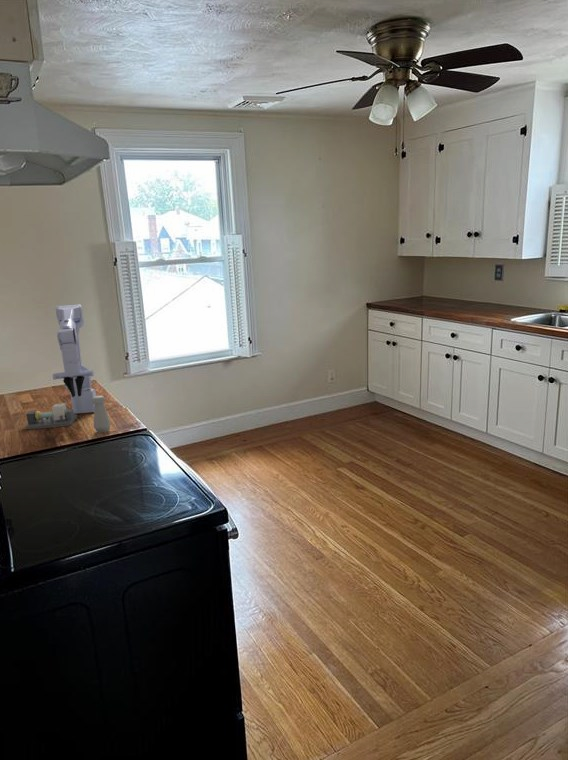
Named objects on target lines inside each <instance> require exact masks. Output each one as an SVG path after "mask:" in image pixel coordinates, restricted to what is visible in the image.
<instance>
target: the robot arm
mask: <svg viewBox="0 0 568 760" xmlns="http://www.w3.org/2000/svg"><path fill="white" fill-rule="evenodd" d="M55 314H56V320H57V323H58V324H59V325H58V326H59V331H58V330H57V333H56V335H57V336H56V337H57V342H58V346H59V349H60V351H61V357H62V363H63V370H64V372H55V373H53V374H52V380H62V379H63V380H62V381H63V383H64V387H65V389H66V391H68V392H69V394H70V399H71V405H72V409H73V411H74V415H78V414H86V413H94V407H95V404H93V403H92V398H93V397H95V396H97V392H96V389H95V388H91V387H92V386H93V385H92V377H94V376H95V372H94V370H93V369H92V370H90V369H89V368H88V367H86V366H84V365H83V363H82V355H81V344H80V329H81V328H82V327H83V326H84V323H85V322H84V312H83V307H82V305H81V303H78V304H70V305H68V304H67V305H56V307H55Z"/></svg>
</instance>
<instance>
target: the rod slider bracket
mask: <svg viewBox="0 0 568 760" xmlns="http://www.w3.org/2000/svg"><path fill="white" fill-rule="evenodd" d="M36 411H38V410H37V409H35V410H29V411H28V412H27V413H26V418H27V425H26V426H25V429H26V430H27V429H28V430H36V429H37V430H39V429H47V428H48V429H49V428H58V427H60V428H61V427H69V426H72V425H73V424H74V422H75V421H76V420H77V419H78V414H74V411H73V408H67V411H64V412H65V416H67V418H66V419H65V420H63V417H62V415H61V416H59V417H60V420H55V421H54V415H53V411H49V412H47V411H46V412H41V413H39V418H40V421H37V420H36V417H35V413H36ZM76 418H77V419H76Z"/></svg>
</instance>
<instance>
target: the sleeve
mask: <svg viewBox="0 0 568 760" xmlns="http://www.w3.org/2000/svg"><path fill="white" fill-rule="evenodd" d="M51 408H52V412H53V415H54V421H55V420H60V417H59V416H61V415H62V417H63V420H65V419H66V418H67V416H65V412H64V411H67V410H68V408H67V404H66V402H65V403H63V402H62V403H55V404H53V406H51Z"/></svg>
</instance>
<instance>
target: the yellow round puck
mask: <svg viewBox="0 0 568 760" xmlns="http://www.w3.org/2000/svg"><path fill="white" fill-rule="evenodd" d="M39 413H42V412H41V411H40V410H37V411H36V413H35V417H36V420H37V421H40V418H39Z"/></svg>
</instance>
